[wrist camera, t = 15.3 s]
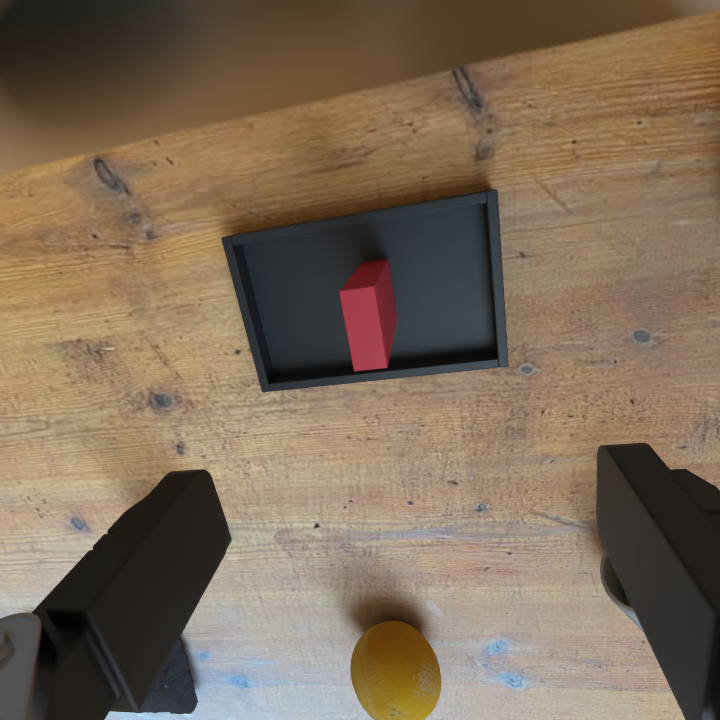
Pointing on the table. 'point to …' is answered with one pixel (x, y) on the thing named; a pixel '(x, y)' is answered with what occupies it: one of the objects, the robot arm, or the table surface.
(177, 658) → the dark slate chunk
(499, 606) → the table surface
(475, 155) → the table surface
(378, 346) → the block
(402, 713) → the fruit
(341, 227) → the tray
